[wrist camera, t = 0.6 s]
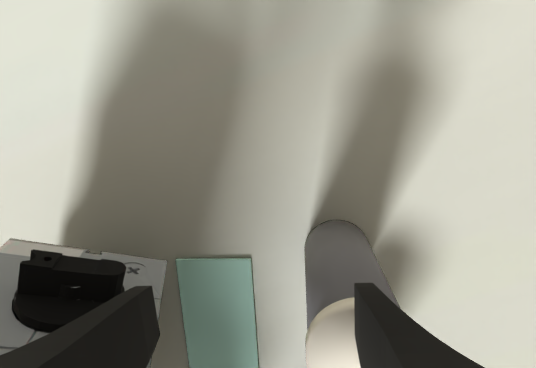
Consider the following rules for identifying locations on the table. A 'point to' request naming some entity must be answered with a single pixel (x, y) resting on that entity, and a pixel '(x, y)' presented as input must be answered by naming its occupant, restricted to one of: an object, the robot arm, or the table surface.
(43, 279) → the circuit breaker
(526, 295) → the table surface
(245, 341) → the pad
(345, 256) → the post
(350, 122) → the table surface
